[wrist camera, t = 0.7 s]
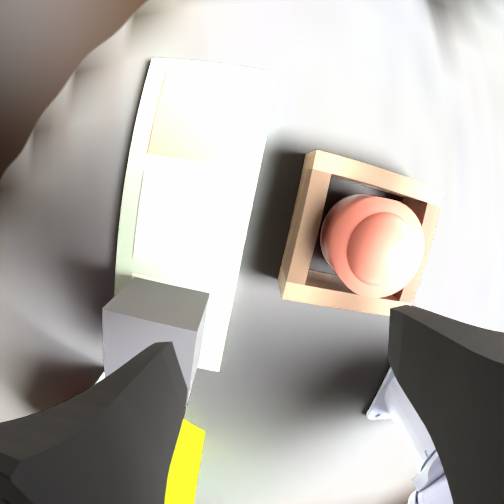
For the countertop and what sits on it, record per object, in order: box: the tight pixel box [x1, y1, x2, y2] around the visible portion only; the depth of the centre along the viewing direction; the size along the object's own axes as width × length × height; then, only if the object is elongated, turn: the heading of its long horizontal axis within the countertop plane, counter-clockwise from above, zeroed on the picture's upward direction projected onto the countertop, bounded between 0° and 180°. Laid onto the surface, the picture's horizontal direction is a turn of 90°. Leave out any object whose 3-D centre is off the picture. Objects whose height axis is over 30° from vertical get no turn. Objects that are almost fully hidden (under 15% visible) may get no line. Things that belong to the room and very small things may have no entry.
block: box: [102, 277, 210, 405], centre depth 17 cm, size 5×5×5 cm
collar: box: [278, 150, 444, 316], centre depth 17 cm, size 8×8×3 cm
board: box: [114, 58, 280, 372], centre depth 18 cm, size 8×20×1 cm, turn 169°
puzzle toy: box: [94, 372, 205, 504], centre depth 18 cm, size 10×10×10 cm
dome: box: [320, 194, 424, 298], centre depth 15 cm, size 5×5×4 cm
